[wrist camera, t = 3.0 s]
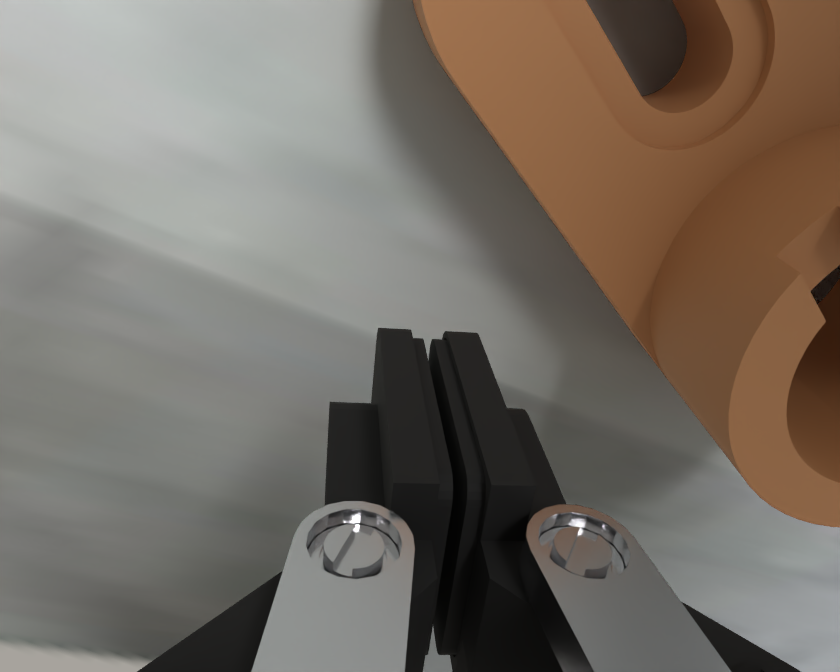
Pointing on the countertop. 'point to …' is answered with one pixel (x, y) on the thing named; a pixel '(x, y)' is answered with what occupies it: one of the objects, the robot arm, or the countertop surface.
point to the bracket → (690, 204)
